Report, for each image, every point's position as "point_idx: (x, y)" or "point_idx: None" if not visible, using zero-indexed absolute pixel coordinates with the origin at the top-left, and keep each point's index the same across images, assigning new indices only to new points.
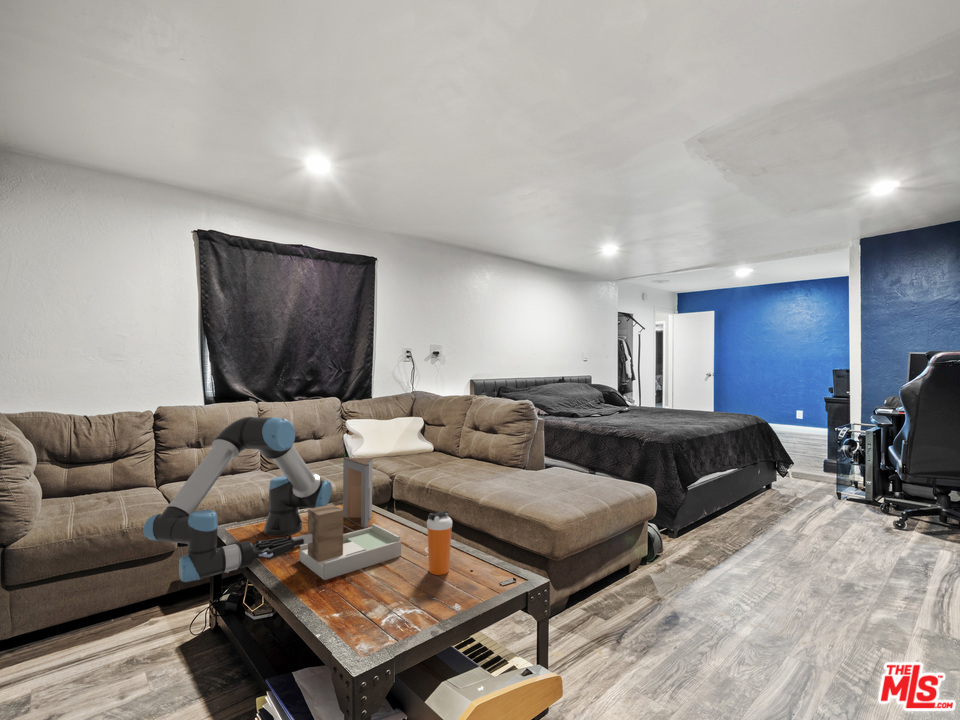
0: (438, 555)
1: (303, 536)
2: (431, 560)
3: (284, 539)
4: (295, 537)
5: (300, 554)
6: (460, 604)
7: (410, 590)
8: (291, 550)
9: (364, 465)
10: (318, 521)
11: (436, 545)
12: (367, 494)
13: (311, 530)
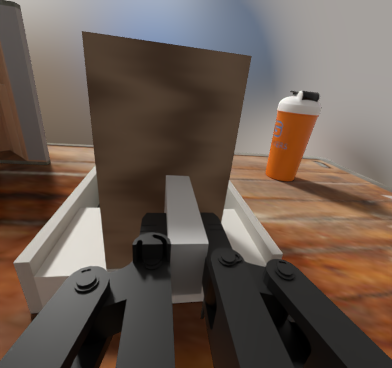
0: (303, 153)
1: (192, 198)
2: (294, 163)
3: (145, 308)
4: (179, 226)
5: (34, 292)
6: (385, 194)
7: (344, 207)
8: (293, 328)
9: (7, 4)
10: (239, 96)
11: (308, 139)
12: (34, 90)
13: (143, 163)
